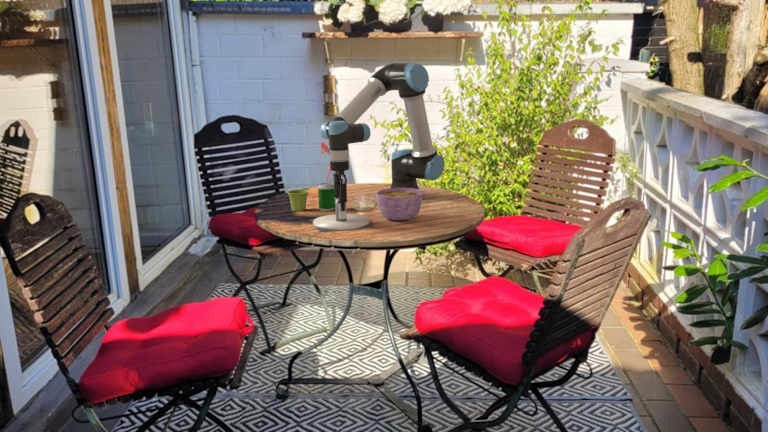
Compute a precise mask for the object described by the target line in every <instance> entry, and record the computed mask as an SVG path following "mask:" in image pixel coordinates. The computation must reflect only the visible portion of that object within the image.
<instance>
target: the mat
mask: <svg viewBox="0 0 768 432" xmlns="http://www.w3.org/2000/svg"><path fill="white" fill-rule="evenodd" d="M314 219H315V218H312V219H311V218H310V219H309V221H310V222H311V223H312V224H313V220H314ZM371 228H375V226H374V225H373V224H371V222H370V224H369V225H367V226H365V227H362V228H358V230H362V229H371ZM316 229H317V230H318V231H319V232H320V233H326V232H327V233H328V232H337V231H338V232H339V231H341V230H324V229H319V228H316Z"/></svg>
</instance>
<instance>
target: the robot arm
mask: <svg viewBox="0 0 768 432" xmlns="http://www.w3.org/2000/svg"><path fill="white" fill-rule="evenodd" d="M429 77H430V76H429V73H428V71H427V69H426V67H425V66H424V65H422V64H420V63H415V62H407V63H406V62H404V63H403V62H401V63H399V62H398V63H396V62H392V63H389V64H386V65H384V66H382V67H381V68H380V69H378V70H377V71H376V72H374V73H373V74H372V75H371V76H370V77H369V78H368V80H367V84H366V85H365V86H364V87H363V88H362V89H360V91H359V92H358V93H357V94H356V96H354V97H353V99H352V100H351V101H350V102H349V103H347V105H346V106H345V107H343V109H342V110H341V111H340V112H339V113H338V114H337V115H336V116H335V117H334V118H333V119H332V120H331V121H330V120H329V121H324V122H323V123H322V124H321V126H320V129H319V131H320V135H321V137H322V138H323V139H325V140H327V141H328V140H329V142H328V143H329V145H328V147H329V150H330V152H329V153H327V154H328V155H329V158H330V159H329V160H330V162H329V166H330V169H331V170H332V171H331V172H334V173H333V175H332V176H333V185H334V195H335V196H334V197H335V199H336V198H339V202H338V204H339V219H346V210H347V203H348V191H347V190H348V189H347V187H348V186H347V183H348V178H347V176H346V174H345V171H348V170H349V169H350V161H349V159H350V157H349V156H350V153H349V151H350V149H349V145H351V144H357V143H363V142H367V141H368V140H369V139H370V138H371V128H370V127H369V125H368V124H366V123H365V122H363V123H360V122H358V123H357V121H358V120H359V119H360V118H361V117H362V116H363V115H364V114H365V113H366V112H367V110H368V109H369V108H370V107H371V106H373V104H374V103H375V102H376V101H377V100H378V99H379V98H380V97H383V96H386V93H388V92H390V91H397V92H398V96H399V98H400V99H402V100H403V103H404V109H405V112H406V118H407V123H408V127H409V131H410V137H411V138H410V139H411V141H412V145H413V146H412V147H413V148H408V149H400V150H394V151H392V153H391V184H390V187H389V188H414V189H419V190H420V187H419V185H418V183H417V182H418V181H417V179H421V180H426V181H436V180H437V179H439V178H440V177H441V176H442V175H443V172H444V170H445V163H446V162H445V158H444V156H442V155H441V154H438V150H437V148H436V147H435V146H434V145H433V141H432V136H431V130H430V125H429V119H428V116H427V110H426V105H425V99H424V95H425V93H426V89H428V87H429V82H430V78H429Z"/></svg>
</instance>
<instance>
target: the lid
mask: <svg viewBox="0 0 768 432" xmlns="http://www.w3.org/2000/svg"><path fill="white" fill-rule="evenodd" d="M338 202H339V198H336V199H335V207H336V209H335V214H334V213H333V214H328V215H322V216H318V217H316V218H313V219H314V220H313V223H312V225H313V227H315V228H316V229H317V228H319V229H324V230H340V231H351V230H357V229H358V228H362V227H365V226H367V225H369V224H370V223H371V220H370V218H369V217H368V216H366V215H361V214H353V213H347V209H346V219H339V204H338ZM362 229H363V228H362ZM358 230H359V229H358Z"/></svg>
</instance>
